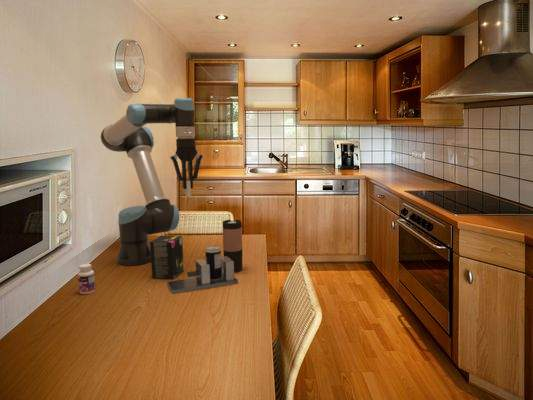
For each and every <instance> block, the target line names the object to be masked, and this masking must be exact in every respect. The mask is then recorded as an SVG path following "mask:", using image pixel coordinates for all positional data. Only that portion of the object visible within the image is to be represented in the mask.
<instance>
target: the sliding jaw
mask: <svg viewBox="0 0 533 400" xmlns="http://www.w3.org/2000/svg"><path fill="white" fill-rule="evenodd" d="M187 277H188V278H194V277H195V278H197V280H198V281H199V282H200V283H201V284H202V285H203V284H210V266H209V264H208V263H207V262H206V259H204V258H203V259H195V270H191V271H187Z"/></svg>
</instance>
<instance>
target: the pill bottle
mask: <svg viewBox="0 0 533 400" xmlns="http://www.w3.org/2000/svg"><path fill="white" fill-rule="evenodd" d="M78 268H79V271H78V273H77V279H78V291H79V294H80V295H81V294H82V295H87V294H92V293H94V292H96V281H95V279H96V278H95V271H94V270H93V269H92V264H90V263H83V264H80V265H79V266H78Z"/></svg>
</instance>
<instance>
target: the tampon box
mask: <svg viewBox="0 0 533 400" xmlns="http://www.w3.org/2000/svg"><path fill="white" fill-rule="evenodd" d="M183 242H184V241H183V236H182V235H181V236H180V235H160V236H158V237H156V238H155V239H152V240H150V241H149V246H150V252H151V262H150V263H151V265H150V266H151V278H152V279H165V280H174V279H176V278H177V277H178V276H180V275H181V274H182V273H184V271H185V270H184V251H183V250H184V248H183Z"/></svg>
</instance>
